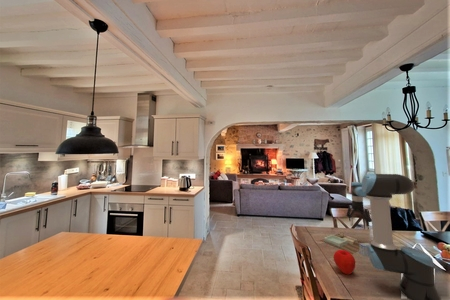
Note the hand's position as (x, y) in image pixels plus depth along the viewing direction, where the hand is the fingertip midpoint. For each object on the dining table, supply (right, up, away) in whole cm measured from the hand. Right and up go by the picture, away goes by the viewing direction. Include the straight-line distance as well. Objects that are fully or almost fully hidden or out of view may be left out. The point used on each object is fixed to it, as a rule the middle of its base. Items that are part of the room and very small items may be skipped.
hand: (359, 227), depth 146 cm
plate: (-3, -15, +6) cm, 16 cm away
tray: (-16, -15, +5) cm, 23 cm away
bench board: (-9, -16, +4) cm, 19 cm away
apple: (-34, -15, -32) cm, 49 cm away
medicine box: (-5, -15, -14) cm, 22 cm away
